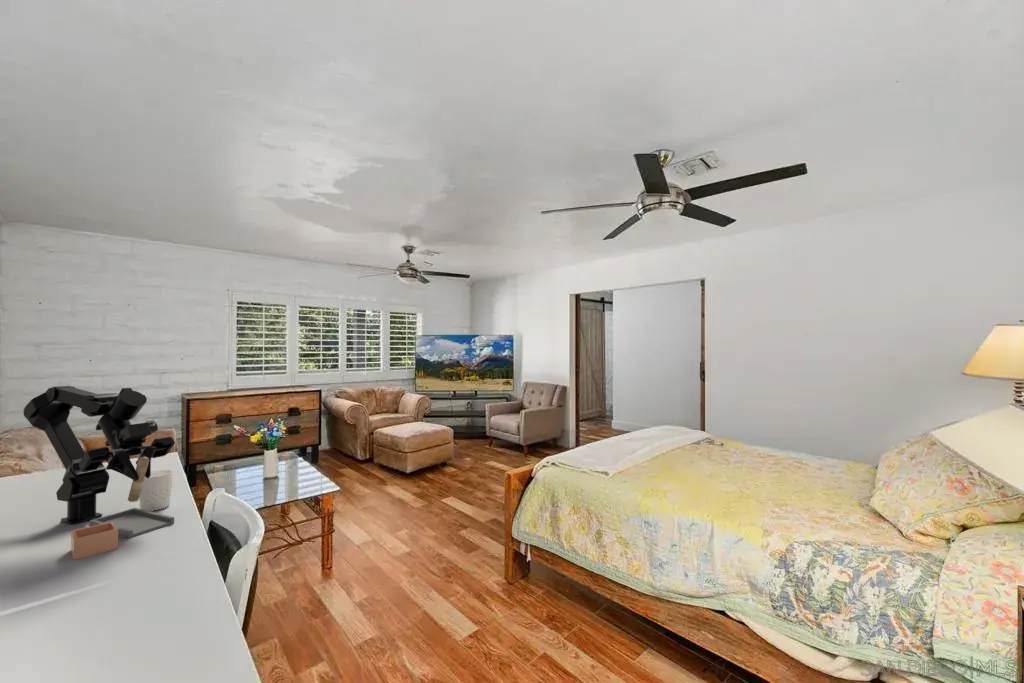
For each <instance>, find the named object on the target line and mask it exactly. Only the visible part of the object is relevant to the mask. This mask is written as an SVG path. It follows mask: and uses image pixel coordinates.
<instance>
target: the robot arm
mask: <svg viewBox="0 0 1024 683" xmlns="http://www.w3.org/2000/svg"><path fill="white" fill-rule="evenodd" d="M147 399H148V398H147V396H146V395H145V394H143V393H141V392H139V391H135V390H133V389H132V387H123V388H121V389H120V390H119V393H117V392H115V393H114V392H112V393H111V392H108V393H106V392H105V393H96V392H92V391H87V390H84V389H80V388H78V387H75V386H72V385H64V386H63V385H62V386H52V387H48V389H47V390H45V392H44V393H40V394H39V395H37V396H35V397H33V398H32V399H30V401H29V402H28V403H27V404H26V405H25V407H24V408H23V416H24V418H25V419H26V420H27V421H28V422H29V423H30V425H31V426H32V427H34V428H37V429H38V430H42V431H44V433H45V435H46V437H47V438H48V440H49V442H50V444H51V445H52V447H53V449H54V451H55V453H56V454H57V456H58V457H59V459H60V462H61V463H62V465H63V468H64V469H65V472H64V473H63V474H64V475H63V476H62V477H63V478H62V483H61V485H60V487H58V489H57V491H56V492H55V494H56V499H57V501H62V502H67V503H66V504H67V507H66V508H67V509H66V515H67V516H66V517H63V518H61V519H60V522H63V523H64V522H65V523H68V524H70V525H74V524H78V523H81V522H85V521H88V520H89V521H90V520H93V519H97V518H100V517H103V513H100V512H97V495H99V494H104V493H106V491H107V488H108V484H109V481H110V474H109V472H108V471H109V470H111V471H114V472H116V473H119V474H121V475H123V476H125V477H127V478H130V479H131V480H132V481H133V480H134V481H138V479H139V476H138V474H137V472H136V467H135V466H134V465H133V463H132V461H131V458H130V457H133V456H135V457H137V460H136V461H135V465H137V463H138V460H139V459H140V458H141V457H147V458H148V459H149V463H148V467H147V471H146V474H145V477H146V478H149V477H150V475H151V472H152V470H151V469H152V468H151V466H152V465H151V462H152V459H156V458H161V457H162V458H163V457H165V456H167V455H168V454H169V452H171V450H172V448H173V447H174V446H175V444H176V441H175V439H174V438H173V437H172V436H164V437H156V438H154V439H153V441H152V442H151V443H149V444H145V445H143V443H146V441H147V437H149V436H152V435H153V434H155V433H156V432H157V431H158V430H159V427H158V424H157V422H156V421H155V420H154V419H152V420H146V421H145V422H139V423H133V424H132V423H131V420H134V418H136V417H137V415H138V413H139V412H140V411H141V410H142V408H143V407H144V406H145V405H146V403H147ZM74 407H77V408H79V409H81V410H80V412H81V413H82V414H84V415H86V416H87V417H90V418H91V417H100V419H98V422H97V424H96V426H95V430H96V431H102V433H103V436H104V437H105V439H106V441H105V443H104V445H105V446H103V447H95V448H91V449H90V448H89V449H87V450H86V451H85V450H84V448H83V447H82V444H81V443H80V441H79V439H78V438H77V436H76V435H75V433H74V431H73V429H72V428H71V425H70V424H69V423H68V418H69V416H70V414H71V410H72V409H73V408H74ZM109 447H110V448H109ZM110 449H111V450H110ZM103 462H107V465H106V466H105V465H104V464H103ZM107 470H108V471H107Z"/></svg>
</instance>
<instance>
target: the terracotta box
mask: <svg viewBox="0 0 1024 683" xmlns="http://www.w3.org/2000/svg"><path fill="white" fill-rule="evenodd" d="M70 532H71V533H70V535H71V536H70V552H71V556H72V559H73V561H75V560H76V561H77V560H80V559H84V558H88V557H91V556H95V555H99V554H103V553H107V552H111V551H115V550H118V549H119V536H118V528H117V526H116V525H115V523H114V521H113V522H109V523H104V524H100V525H95V526H91V527H89V526H87V527H82V528H77V529H73V530H70Z"/></svg>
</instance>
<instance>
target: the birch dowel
mask: <svg viewBox="0 0 1024 683" xmlns="http://www.w3.org/2000/svg"><path fill="white" fill-rule="evenodd" d="M137 460H138V459H137ZM148 463H149V459H148V458H147V457H141V458H140V459H139V460H138V463H137V464H136V467H135V470H136V472H137V474H138V476H139V479H138V481H134V480H133V479H132V482H131V486H130V490H129V492H128V496H127V497H128V498H127V501H128V502H131V503H135V502H138V501H139V497H140V493H141V489H142V485H143V482H144V478H145V474H146V471H147V467H148Z"/></svg>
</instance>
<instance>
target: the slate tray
mask: <svg viewBox="0 0 1024 683" xmlns="http://www.w3.org/2000/svg"><path fill="white" fill-rule="evenodd" d="M113 521H114V523H115V525H116V526H117V528H118V537H122V538H124V539H125V538H126V539H131V538H135V537H137V536H140V535H143V534H146V533H149V532H153V531H155V530H158V529H162V528H164V527H167V526H171V525H174V524H175V517H174V516H171V515H167V514H162V513H159V512H158V513H157V512H156V511H155V512H154V511H146V510H142V509H140V508H138V507H133V508H130V509H126V510H122V511H119V512H116V513H112V514H108V515H104V516H100V517H97V518H93V519H89V521H88V527H91V526H95V525H100V524H104V523H109V522H113Z"/></svg>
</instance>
